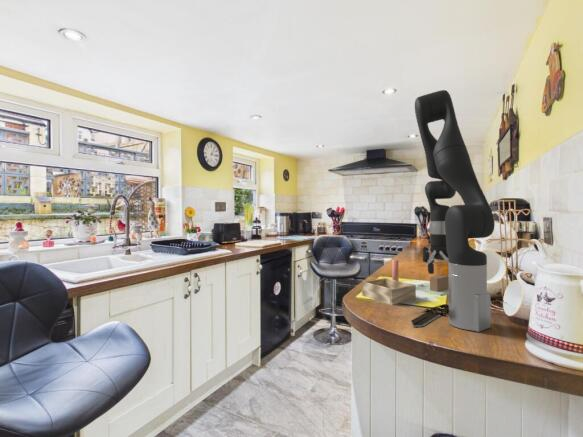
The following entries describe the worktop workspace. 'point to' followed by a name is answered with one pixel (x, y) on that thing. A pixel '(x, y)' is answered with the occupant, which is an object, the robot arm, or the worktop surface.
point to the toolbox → (389, 290)
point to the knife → (430, 315)
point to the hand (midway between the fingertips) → (441, 275)
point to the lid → (435, 285)
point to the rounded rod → (395, 270)
